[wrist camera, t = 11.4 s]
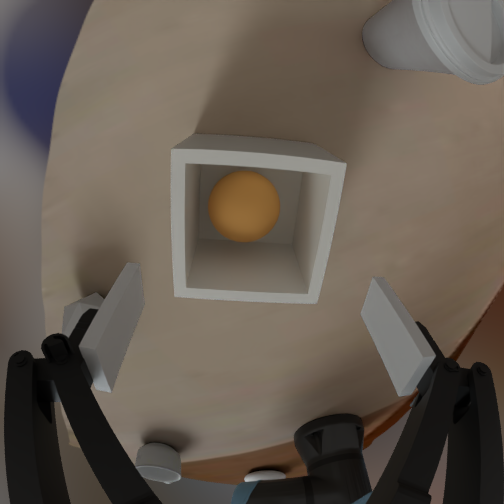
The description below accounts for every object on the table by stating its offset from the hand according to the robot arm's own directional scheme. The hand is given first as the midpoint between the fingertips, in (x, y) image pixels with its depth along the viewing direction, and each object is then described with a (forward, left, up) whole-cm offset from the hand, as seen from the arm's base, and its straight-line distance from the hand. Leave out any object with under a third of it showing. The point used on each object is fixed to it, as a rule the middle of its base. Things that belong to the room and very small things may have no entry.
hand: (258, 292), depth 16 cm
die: (+19, +17, -17) cm, 30 cm away
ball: (0, 0, -16) cm, 16 cm away
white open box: (0, 0, -17) cm, 17 cm away
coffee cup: (-13, -19, -17) cm, 29 cm away
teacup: (+16, +62, -17) cm, 66 cm away
